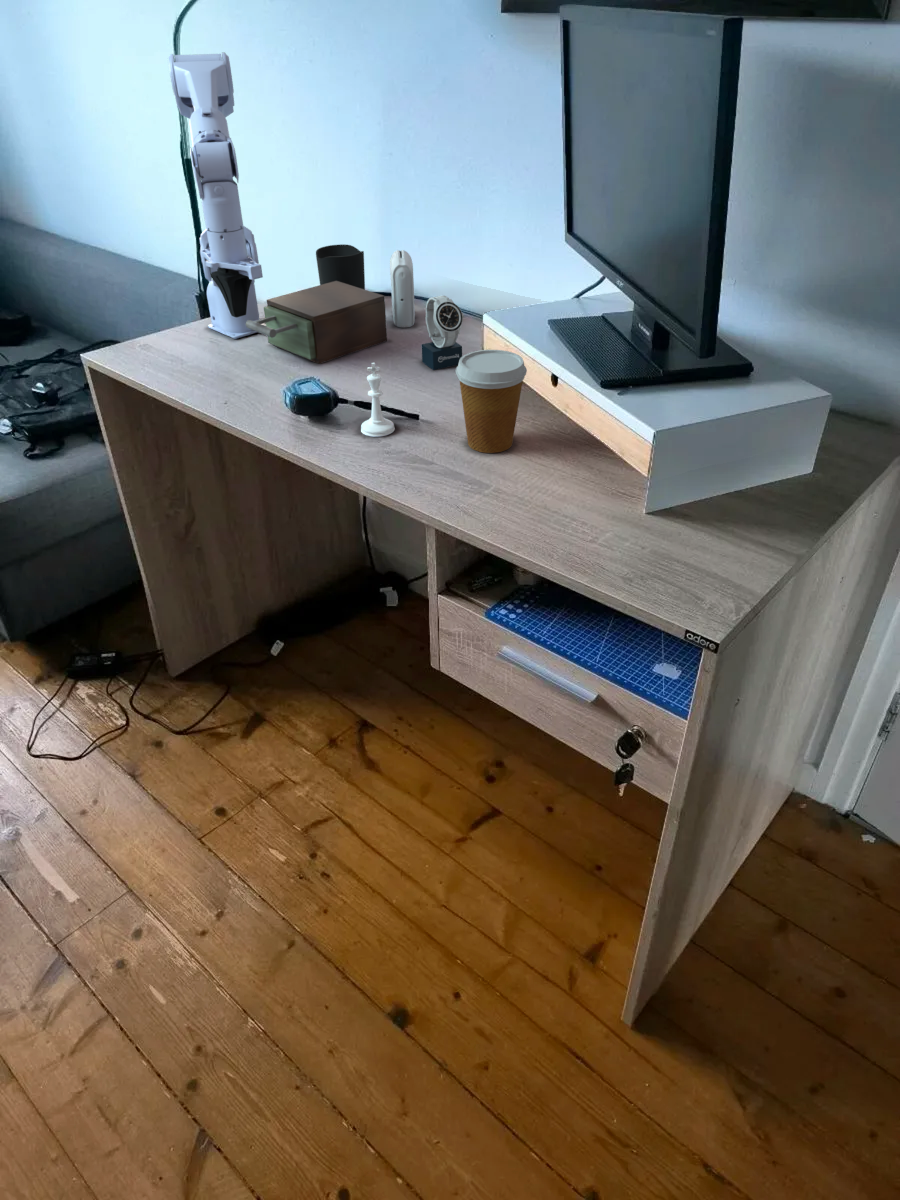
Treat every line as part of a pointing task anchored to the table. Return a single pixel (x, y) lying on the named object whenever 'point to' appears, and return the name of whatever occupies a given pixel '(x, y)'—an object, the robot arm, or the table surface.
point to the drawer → (286, 331)
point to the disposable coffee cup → (490, 397)
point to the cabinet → (338, 317)
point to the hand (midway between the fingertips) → (238, 315)
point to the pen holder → (341, 265)
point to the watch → (442, 333)
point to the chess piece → (376, 409)
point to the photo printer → (402, 289)
